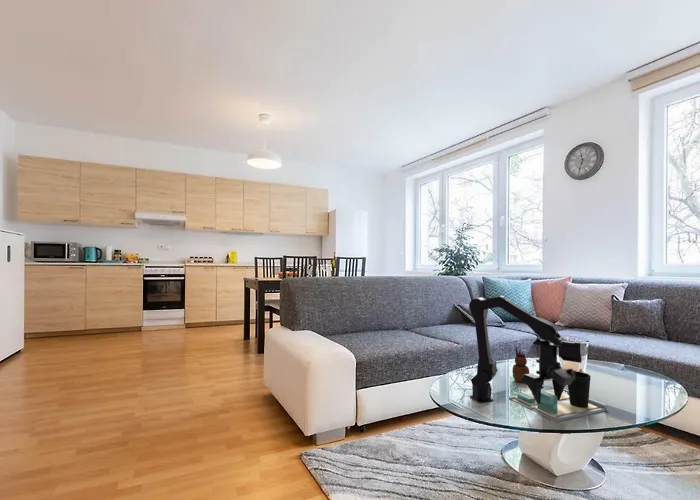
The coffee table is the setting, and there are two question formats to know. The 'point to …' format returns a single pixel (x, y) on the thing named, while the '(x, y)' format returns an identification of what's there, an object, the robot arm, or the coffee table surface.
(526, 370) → the wooden figurine
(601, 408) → the lane board
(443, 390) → the coffee table surface
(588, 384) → the cup
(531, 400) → the broken strip
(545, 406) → the teal block on board
